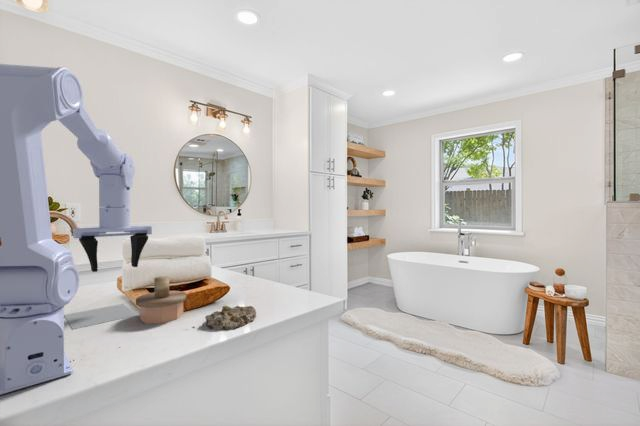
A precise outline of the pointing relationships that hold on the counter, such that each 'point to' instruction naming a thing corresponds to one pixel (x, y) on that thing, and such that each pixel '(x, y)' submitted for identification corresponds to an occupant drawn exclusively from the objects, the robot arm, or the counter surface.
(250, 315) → the mineral rock
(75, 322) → the mat
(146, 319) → the bowl
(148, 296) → the lid
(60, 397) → the counter surface
